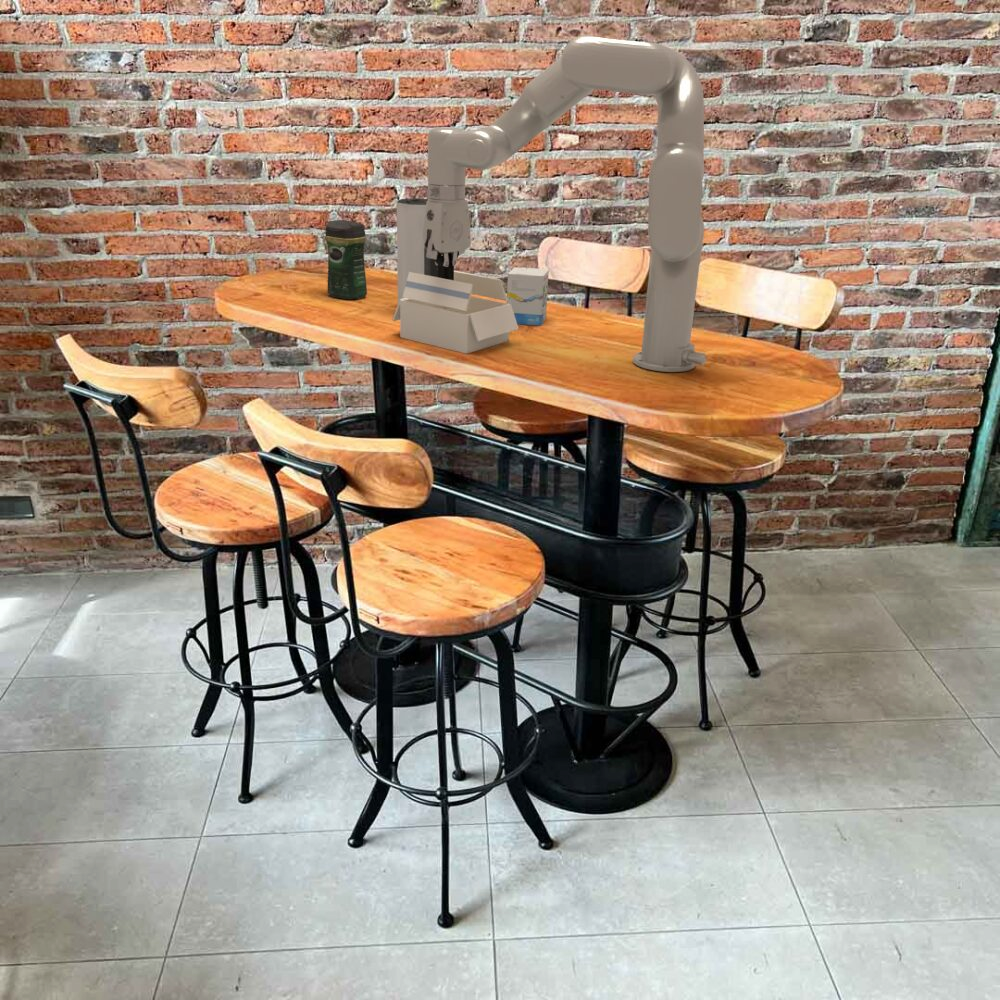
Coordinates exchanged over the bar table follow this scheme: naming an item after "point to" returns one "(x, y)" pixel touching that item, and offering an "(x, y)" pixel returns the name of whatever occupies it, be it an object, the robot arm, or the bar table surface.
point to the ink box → (528, 294)
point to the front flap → (438, 291)
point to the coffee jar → (346, 259)
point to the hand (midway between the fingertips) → (445, 284)
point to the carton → (456, 324)
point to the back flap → (482, 285)
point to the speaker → (412, 242)
